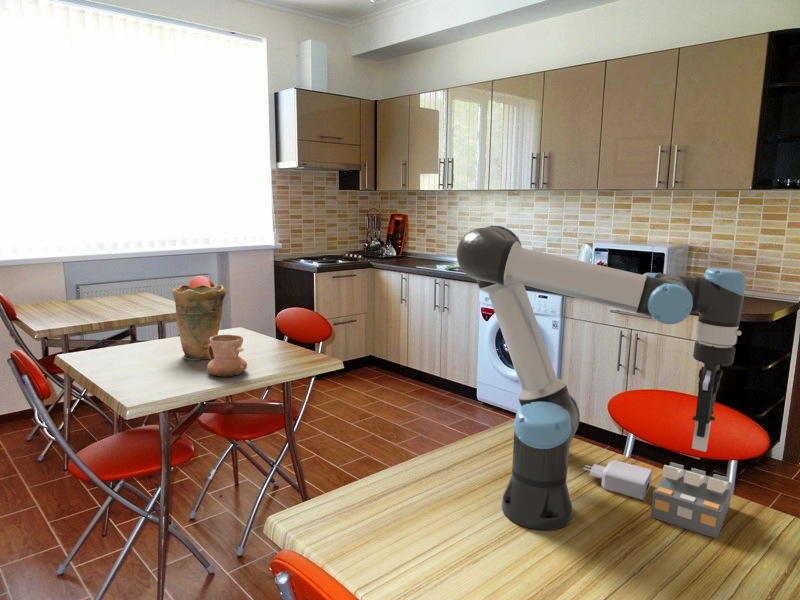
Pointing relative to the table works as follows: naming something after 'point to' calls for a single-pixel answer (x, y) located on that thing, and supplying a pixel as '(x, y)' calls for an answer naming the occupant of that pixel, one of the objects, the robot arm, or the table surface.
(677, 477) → the rocker
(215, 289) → the vase
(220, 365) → the ceramic jug
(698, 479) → the rocker
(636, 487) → the charger
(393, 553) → the table surface
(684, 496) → the switch unit
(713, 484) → the rocker
